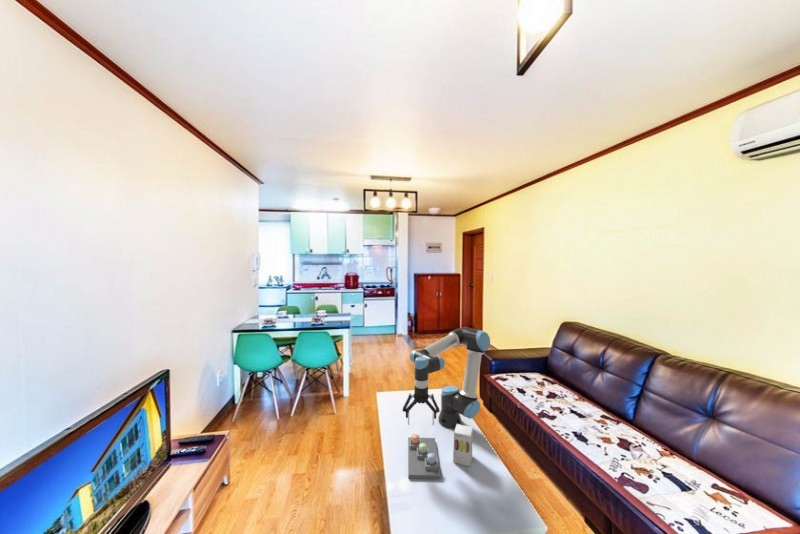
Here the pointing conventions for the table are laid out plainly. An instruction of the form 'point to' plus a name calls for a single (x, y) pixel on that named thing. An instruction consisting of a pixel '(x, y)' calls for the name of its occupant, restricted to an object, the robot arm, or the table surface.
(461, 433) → the supplement box
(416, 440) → the coral button
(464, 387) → the robot arm
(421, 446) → the sage button
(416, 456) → the panel
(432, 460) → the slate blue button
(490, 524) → the table surface
